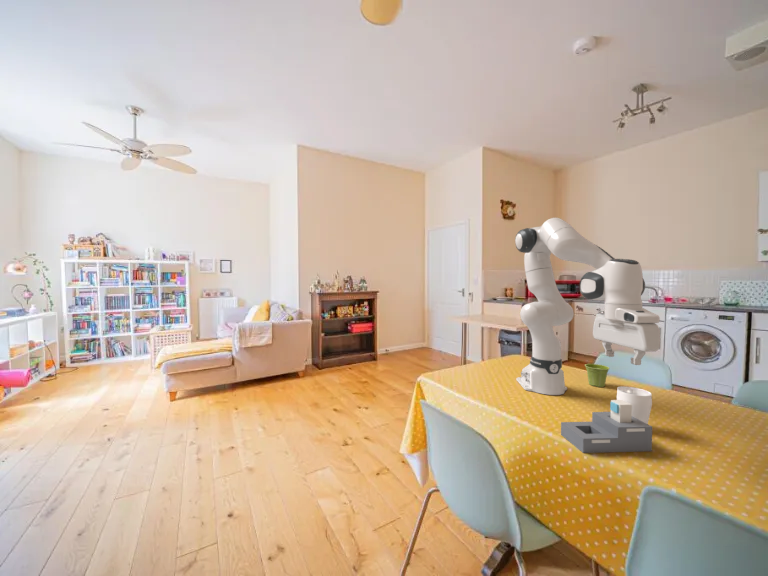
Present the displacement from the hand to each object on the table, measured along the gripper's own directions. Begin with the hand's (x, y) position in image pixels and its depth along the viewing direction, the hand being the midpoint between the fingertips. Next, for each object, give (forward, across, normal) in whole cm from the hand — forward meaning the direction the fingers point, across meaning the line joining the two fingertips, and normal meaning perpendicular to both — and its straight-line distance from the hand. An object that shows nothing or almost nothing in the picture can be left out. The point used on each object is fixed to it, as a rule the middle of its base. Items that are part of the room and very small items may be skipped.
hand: (622, 360), depth 91 cm
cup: (+25, -9, +12) cm, 29 cm away
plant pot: (+25, -49, +30) cm, 63 cm away
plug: (+22, 0, 0) cm, 22 cm away
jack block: (+25, 0, -5) cm, 25 cm away
